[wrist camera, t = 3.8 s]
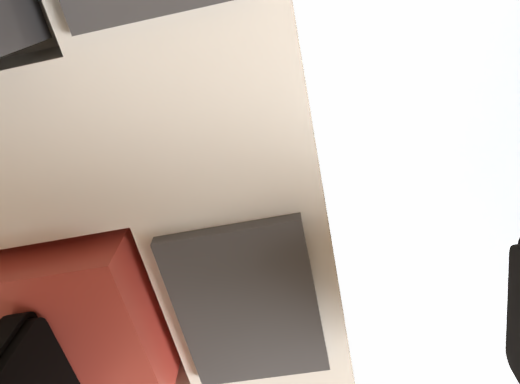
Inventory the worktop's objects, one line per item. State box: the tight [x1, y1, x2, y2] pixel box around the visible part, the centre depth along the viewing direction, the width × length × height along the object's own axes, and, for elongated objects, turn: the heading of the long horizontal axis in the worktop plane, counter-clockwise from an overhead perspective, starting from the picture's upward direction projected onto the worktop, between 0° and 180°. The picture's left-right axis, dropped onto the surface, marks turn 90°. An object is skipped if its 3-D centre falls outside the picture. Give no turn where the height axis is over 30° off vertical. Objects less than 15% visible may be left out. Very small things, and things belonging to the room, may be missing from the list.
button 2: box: [0, 228, 181, 384], centre depth 11 cm, size 4×3×3 cm
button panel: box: [0, 0, 355, 384], centre depth 10 cm, size 32×8×4 cm, turn 12°
